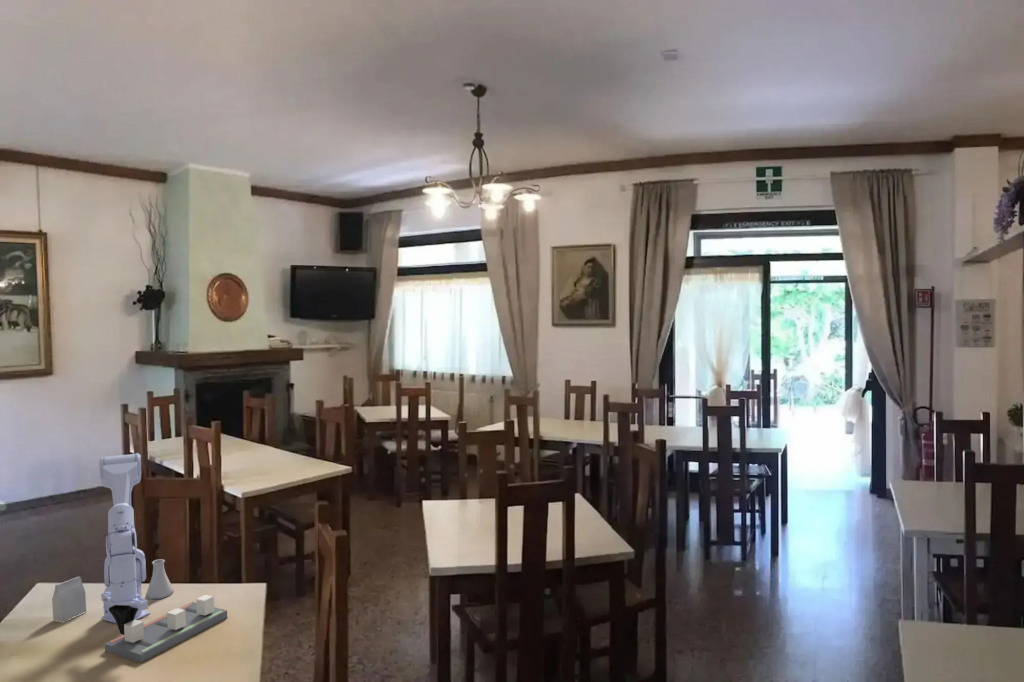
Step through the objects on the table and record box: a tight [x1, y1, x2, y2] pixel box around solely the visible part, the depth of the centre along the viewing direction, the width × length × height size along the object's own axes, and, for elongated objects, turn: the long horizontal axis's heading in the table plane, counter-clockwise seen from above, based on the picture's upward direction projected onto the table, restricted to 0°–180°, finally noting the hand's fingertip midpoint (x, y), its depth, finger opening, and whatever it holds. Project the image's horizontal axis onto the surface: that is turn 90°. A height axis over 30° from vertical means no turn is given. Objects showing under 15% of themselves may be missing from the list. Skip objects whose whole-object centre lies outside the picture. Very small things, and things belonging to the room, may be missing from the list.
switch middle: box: [166, 607, 186, 630], centre depth 184 cm, size 3×3×4 cm
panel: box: [104, 601, 228, 663], centre depth 185 cm, size 13×26×2 cm, turn 155°
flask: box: [145, 558, 175, 600], centre depth 209 cm, size 7×7×10 cm
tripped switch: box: [124, 619, 144, 643], centre depth 177 cm, size 3×3×4 cm
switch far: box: [195, 594, 215, 615], centre depth 192 cm, size 3×3×4 cm
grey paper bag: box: [51, 576, 87, 622], centre depth 195 cm, size 4×7×10 cm, turn 156°
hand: (125, 633), depth 178 cm, fingers closed
